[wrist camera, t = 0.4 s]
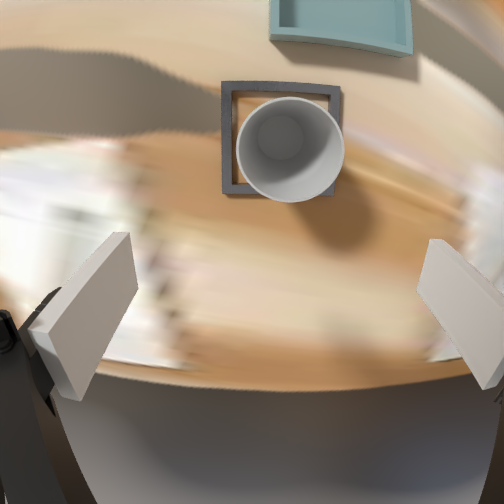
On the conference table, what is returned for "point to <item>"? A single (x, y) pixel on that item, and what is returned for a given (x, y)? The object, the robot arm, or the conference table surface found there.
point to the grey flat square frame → (264, 86)
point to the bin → (345, 24)
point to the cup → (290, 149)
